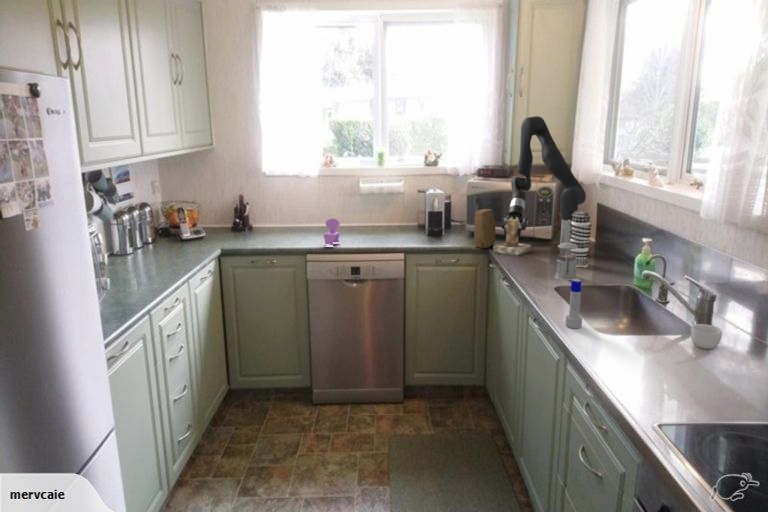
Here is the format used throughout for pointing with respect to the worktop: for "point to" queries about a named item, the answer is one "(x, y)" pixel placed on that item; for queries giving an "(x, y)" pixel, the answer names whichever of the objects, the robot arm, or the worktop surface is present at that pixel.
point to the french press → (567, 261)
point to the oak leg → (512, 232)
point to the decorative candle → (580, 237)
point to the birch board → (511, 249)
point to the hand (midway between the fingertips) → (511, 235)
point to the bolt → (574, 305)
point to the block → (484, 228)
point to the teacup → (706, 336)
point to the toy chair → (332, 232)
